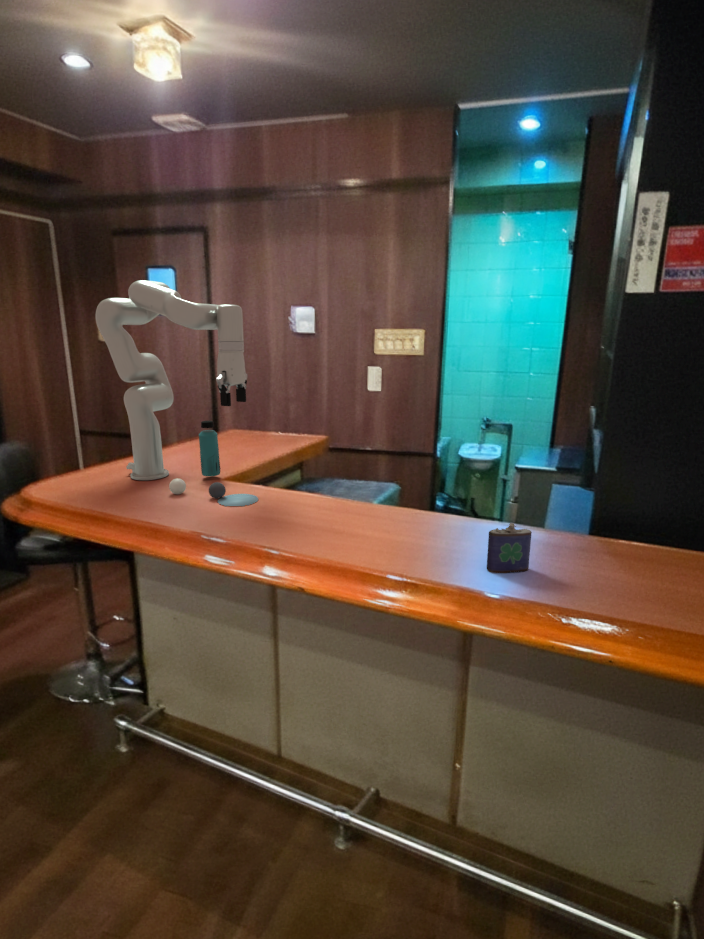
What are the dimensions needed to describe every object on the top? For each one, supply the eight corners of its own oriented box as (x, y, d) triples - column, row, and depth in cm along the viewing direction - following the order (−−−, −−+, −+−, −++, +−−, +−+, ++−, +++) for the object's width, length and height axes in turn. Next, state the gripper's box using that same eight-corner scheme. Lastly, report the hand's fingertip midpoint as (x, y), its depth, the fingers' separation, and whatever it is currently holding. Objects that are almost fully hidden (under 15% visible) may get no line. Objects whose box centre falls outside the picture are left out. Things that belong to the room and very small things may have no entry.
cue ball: (166, 495, 166) (165, 480, 165) (176, 491, 170) (174, 475, 169) (180, 497, 164) (179, 481, 163) (189, 492, 169) (188, 477, 168)
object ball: (206, 499, 162) (204, 484, 160) (214, 495, 166) (213, 479, 165) (220, 501, 160) (219, 485, 159) (229, 496, 165) (228, 481, 164)
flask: (525, 566, 117) (529, 520, 114) (531, 572, 114) (535, 525, 111) (484, 568, 116) (487, 521, 113) (489, 574, 113) (492, 526, 111)
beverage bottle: (218, 480, 182) (214, 422, 177) (198, 480, 182) (194, 422, 177) (223, 475, 188) (219, 419, 183) (204, 475, 188) (200, 419, 183)
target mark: (209, 504, 157) (209, 503, 157) (230, 492, 169) (230, 492, 168) (246, 508, 154) (246, 507, 154) (265, 496, 165) (265, 495, 165)
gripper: (234, 346, 171) (236, 399, 175) (204, 348, 155) (208, 407, 159) (255, 346, 169) (257, 400, 173) (228, 348, 153) (231, 408, 157)
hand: (233, 403), depth 166 cm, fingers open, 9 cm apart
